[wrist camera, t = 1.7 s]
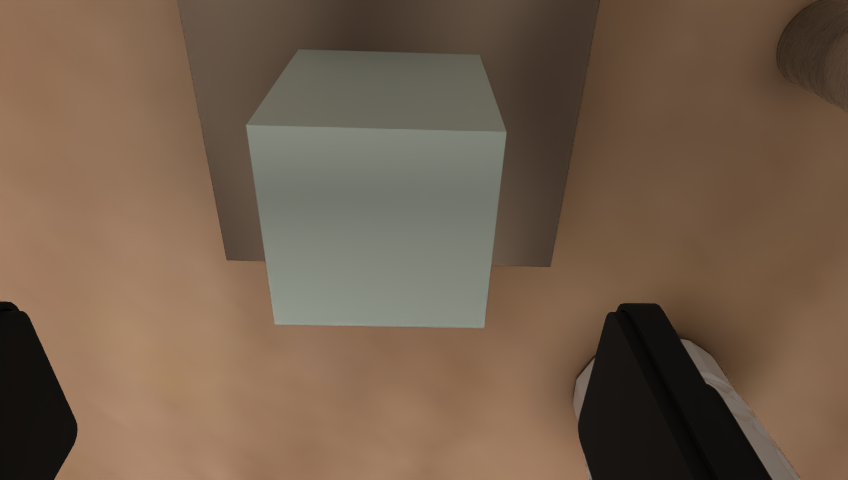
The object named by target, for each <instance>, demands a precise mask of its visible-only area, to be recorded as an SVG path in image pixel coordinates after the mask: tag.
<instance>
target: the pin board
mask: <svg viewBox="0 0 848 480" xmlns="http://www.w3.org/2000/svg"><path fill="white" fill-rule="evenodd" d="M177 1H178V6H179V11H180V17H181V22H182V27H183V32H184V38H185V43H186V48H187V53H188V59H189V64H190V69H191V75H192V80H193V85H194V90H195V96H196V101H197V106H198V111H199V117H200V122H201V127H202V133H203V138H204V143H205V148H206V154H207V159H208V164H209V169H210V175H211V180H212V185H213V191H214V196H215V201H216V206H217V212H218V217H219V222H220V227H221V233H222V238H223V243H224V249H225V254H226V259H227V260H237V261H266V260H265V253H264V246H263V239H262V232H261V225H260V218H259V211H258V204H257V197H256V190H255V184H254V177H253V170H252V163H251V156H250V149H249V142H248V135H247V128H246V124H247V123H248V122H249V120H250V119H251V117H252V116H253V114H254V113H255V111H256V110H257V109H258V107H259V106H260V104H261V103H262V101H263V100H264V98H265V97H266V95H267V94H268V93H269V91H270V90H271V88H272V87H273V85H274V84H275V82H276V81H277V80H278V78H279V77H280V75H281V74H282V72H283V71H284V69H285V68H286V66H287V65H288V64H289V62H290V61H291V59H292V58H293V56H294V55H295V53H296V52H297V50H298V49H305V50H339V51H373V52H407V53H440V54H474V55H480V57H481V60H482V63H483V66H484V69H485V71H486V74H487V77H488V80H489V83H490V86H491V89H492V92H493V94H494V97H495V100H496V103H497V106H498V109H499V112H500V114H501V117H502V120H503V123H504V126H505V129H506V132H507V133H506V141H505V150H504V159H503V167H502V176H501V184H500V193H499V202H498V210H497V219H496V227H495V236H494V244H493V253H492V262H491V266H533V267H550V266H551V260H552V255H553V249H554V244H555V239H556V233H557V228H558V223H559V217H560V212H561V206H562V201H563V196H564V190H565V185H566V179H567V174H568V169H569V163H570V158H571V153H572V147H573V142H574V136H575V131H576V126H577V120H578V115H579V109H580V104H581V99H582V93H583V88H584V82H585V77H586V72H587V66H588V61H589V56H590V50H591V45H592V39H593V34H594V29H595V23H596V18H597V12H598V7H599V2H600V0H177Z"/></svg>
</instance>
